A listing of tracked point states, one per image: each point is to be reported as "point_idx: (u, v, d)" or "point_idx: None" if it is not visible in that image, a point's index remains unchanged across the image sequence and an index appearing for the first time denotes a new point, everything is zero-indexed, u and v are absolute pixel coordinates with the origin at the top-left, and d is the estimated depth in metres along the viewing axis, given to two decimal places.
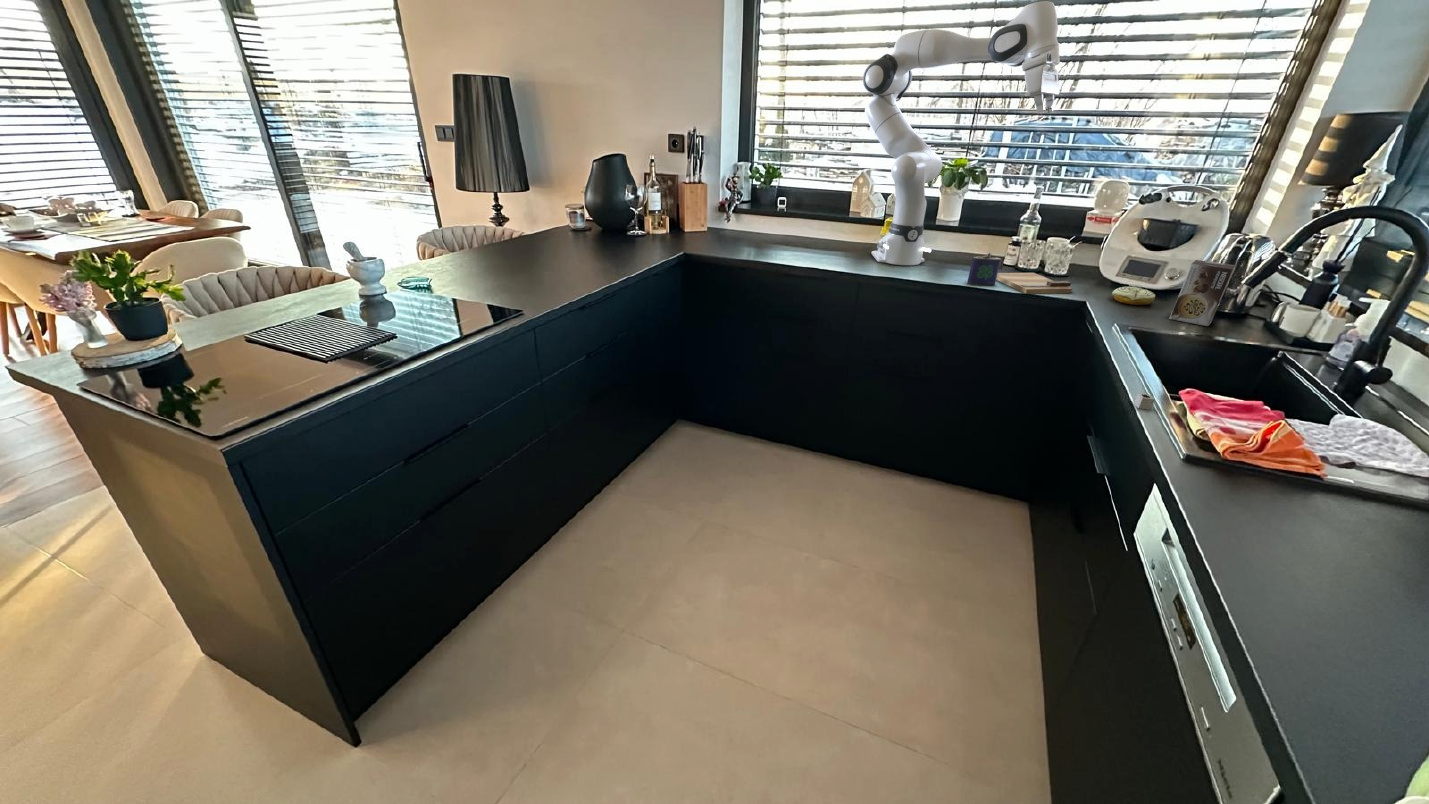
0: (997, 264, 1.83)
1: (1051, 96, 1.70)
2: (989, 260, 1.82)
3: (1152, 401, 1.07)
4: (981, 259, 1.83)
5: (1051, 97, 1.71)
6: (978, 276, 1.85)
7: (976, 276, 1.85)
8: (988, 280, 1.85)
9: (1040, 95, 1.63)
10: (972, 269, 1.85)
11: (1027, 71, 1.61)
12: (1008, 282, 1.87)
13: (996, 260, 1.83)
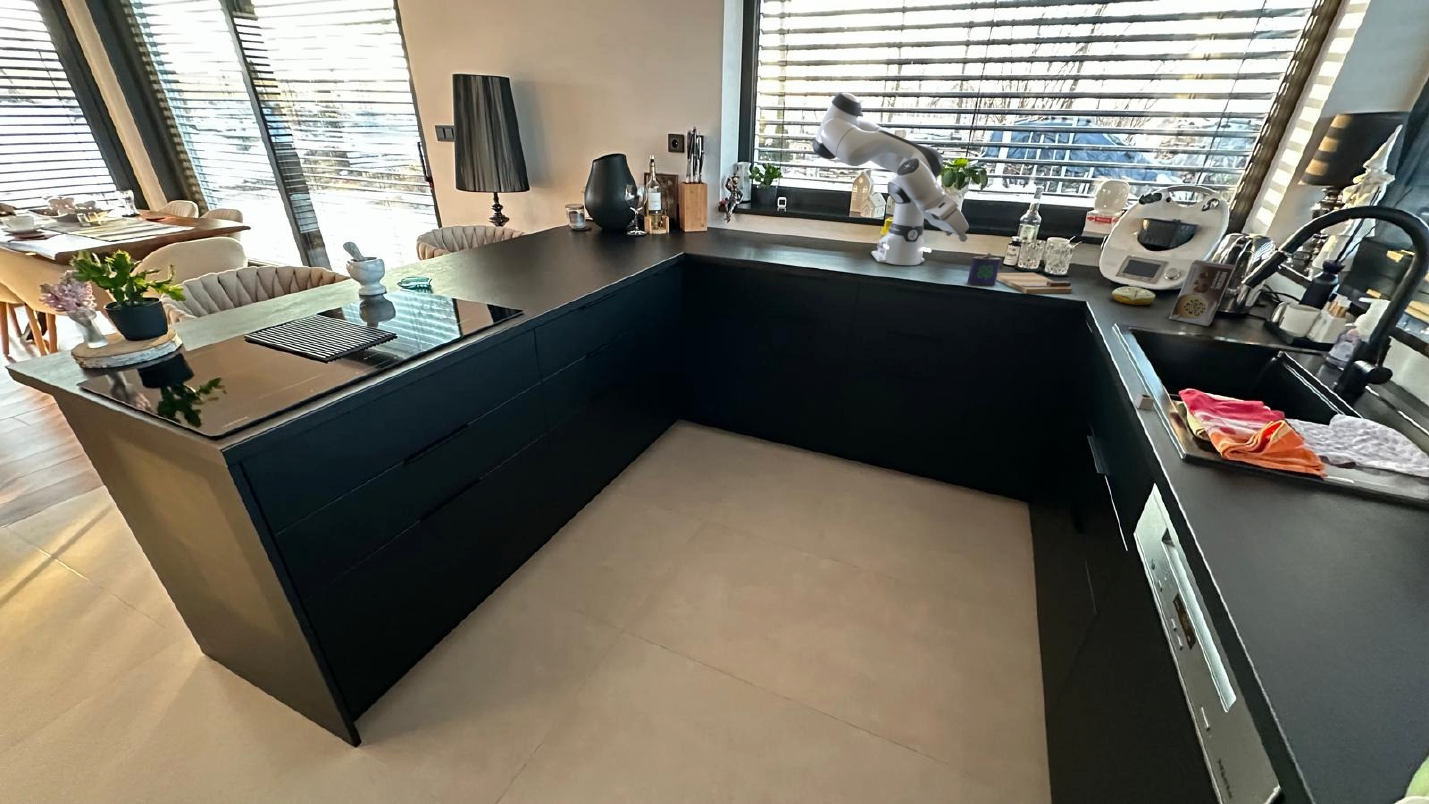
0: (997, 264, 1.83)
1: None
2: (989, 260, 1.82)
3: (1152, 401, 1.07)
4: (981, 259, 1.83)
5: None
6: (978, 276, 1.85)
7: (976, 276, 1.85)
8: (988, 280, 1.85)
9: None
10: (972, 269, 1.85)
11: (948, 219, 1.67)
12: (1008, 282, 1.87)
13: (996, 260, 1.83)
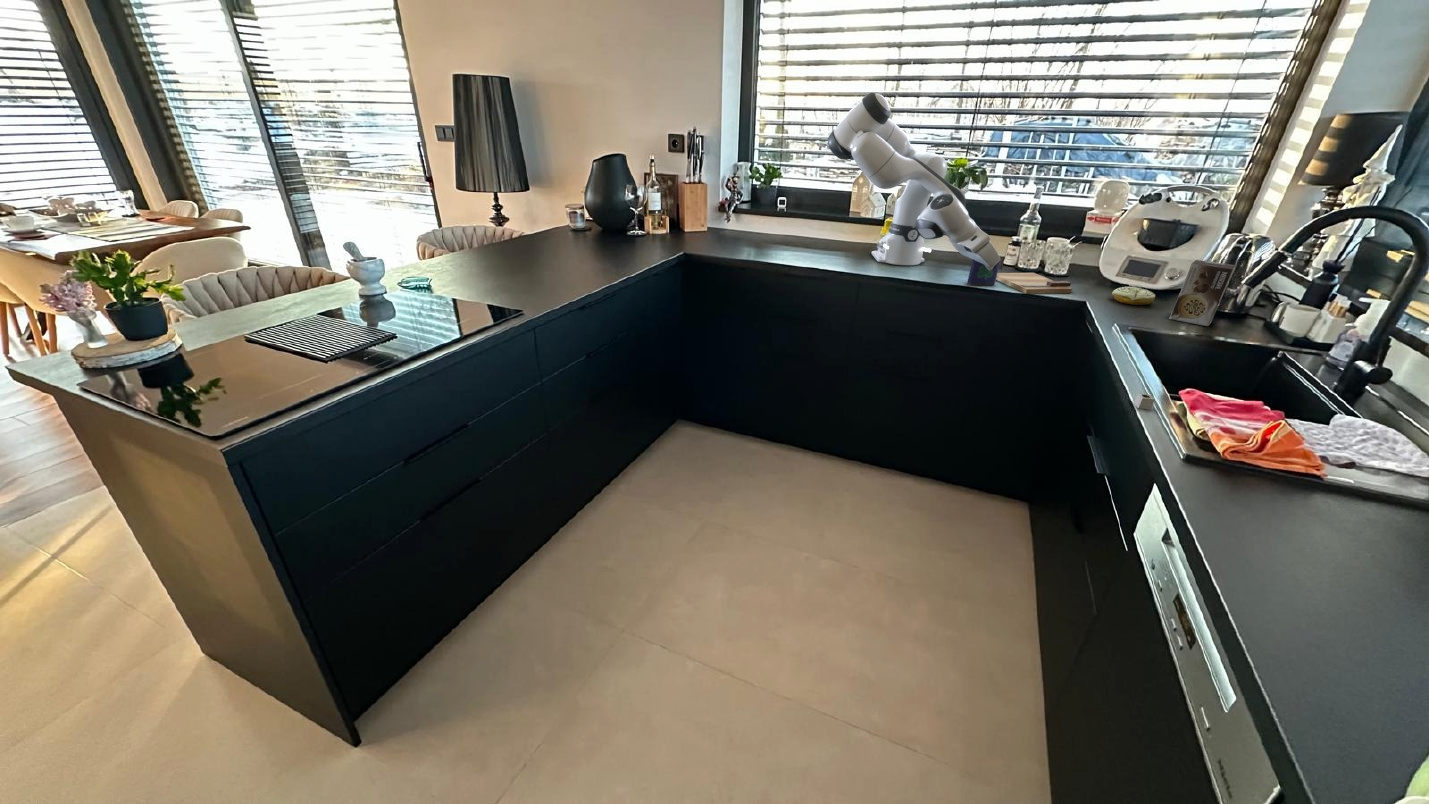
0: (997, 264, 1.83)
1: None
2: None
3: (1152, 401, 1.07)
4: None
5: None
6: (978, 276, 1.85)
7: (977, 276, 1.85)
8: (988, 280, 1.85)
9: None
10: (972, 269, 1.85)
11: (980, 252, 1.73)
12: (1008, 282, 1.87)
13: None
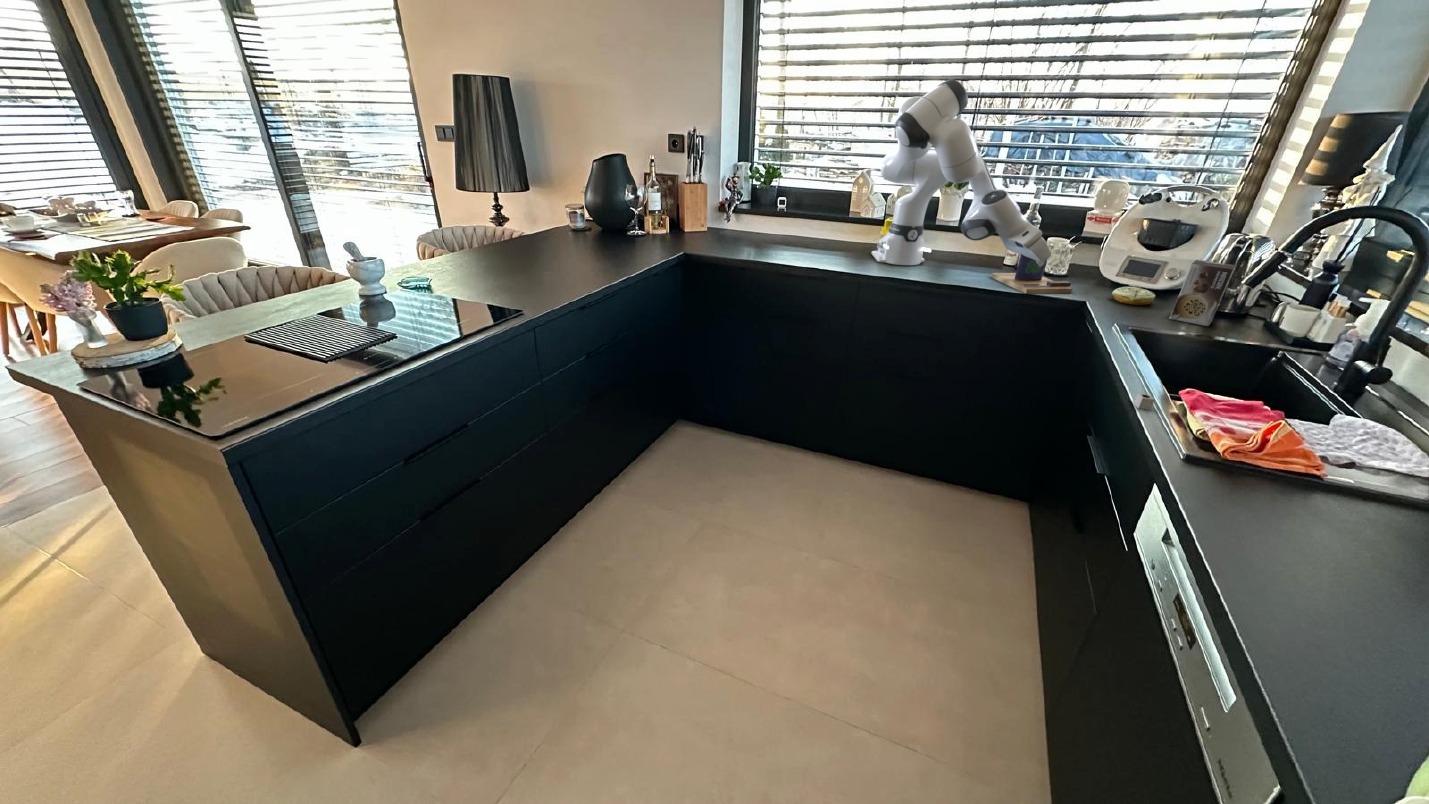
0: None
1: None
2: None
3: (1152, 401, 1.07)
4: None
5: None
6: (1026, 271, 1.86)
7: (1025, 271, 1.86)
8: (1035, 275, 1.87)
9: None
10: (1021, 264, 1.86)
11: (1032, 247, 1.74)
12: (1008, 282, 1.87)
13: None
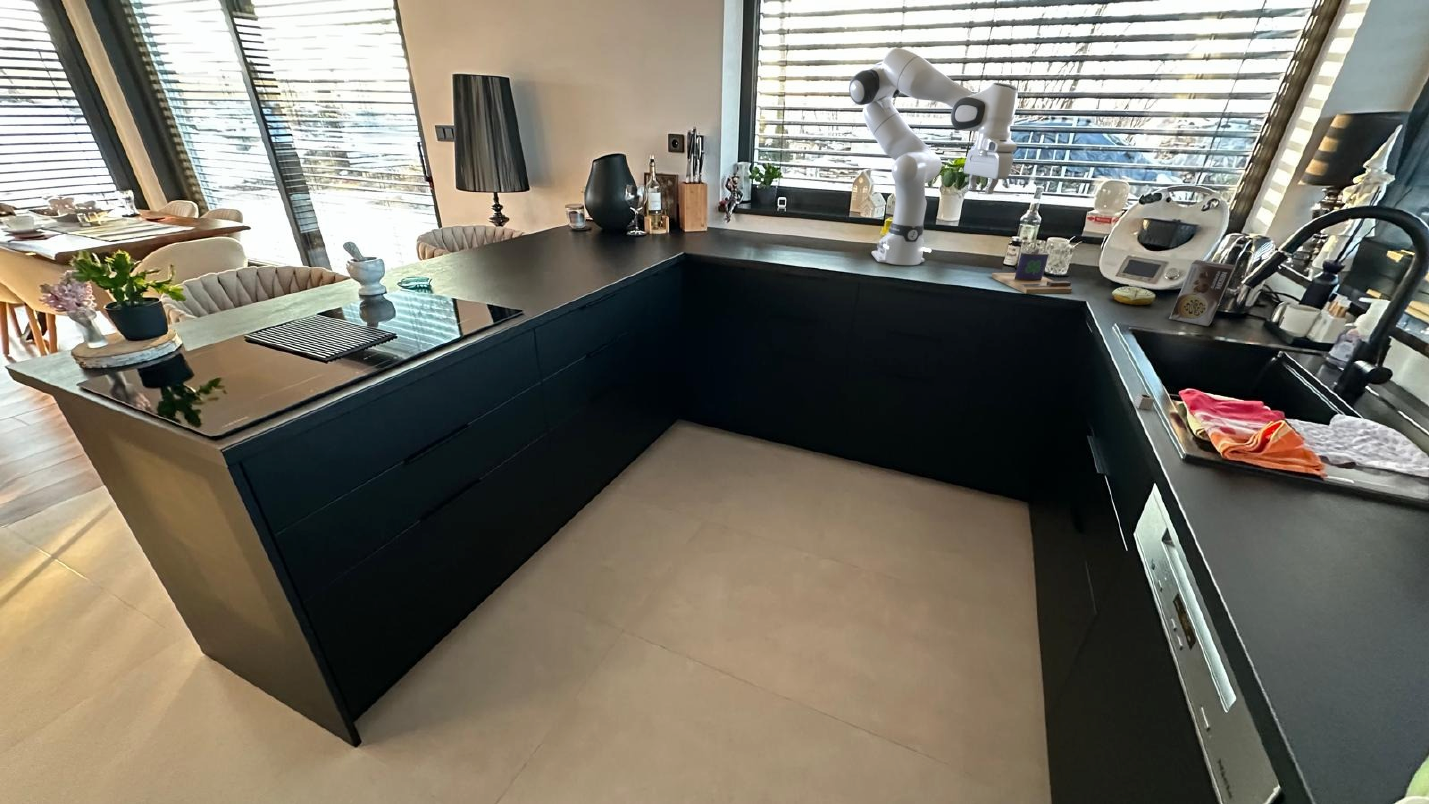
0: (1045, 259, 1.85)
1: (976, 175, 1.79)
2: (1038, 255, 1.84)
3: (1152, 401, 1.07)
4: (1030, 254, 1.84)
5: (976, 176, 1.79)
6: (1026, 271, 1.86)
7: (1025, 271, 1.86)
8: (1035, 275, 1.87)
9: (997, 179, 1.68)
10: (1021, 264, 1.86)
11: (1000, 154, 1.63)
12: (1008, 282, 1.87)
13: (1044, 255, 1.84)
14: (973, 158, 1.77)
